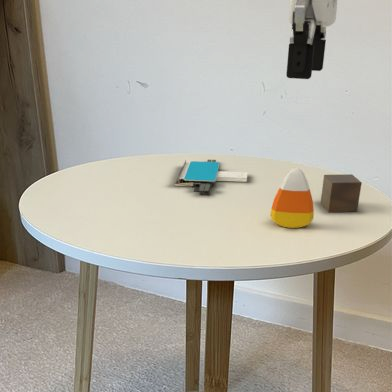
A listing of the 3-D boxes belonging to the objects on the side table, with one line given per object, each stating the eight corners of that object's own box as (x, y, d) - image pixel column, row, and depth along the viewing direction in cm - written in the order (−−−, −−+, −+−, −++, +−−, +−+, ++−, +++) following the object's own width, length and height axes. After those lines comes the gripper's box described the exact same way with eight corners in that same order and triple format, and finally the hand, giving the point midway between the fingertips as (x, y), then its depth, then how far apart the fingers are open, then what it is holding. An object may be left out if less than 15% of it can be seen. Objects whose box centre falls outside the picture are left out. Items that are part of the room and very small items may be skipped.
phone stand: (245, 196, 95) (246, 186, 94) (171, 193, 96) (171, 183, 95) (247, 164, 112) (248, 155, 111) (184, 162, 113) (184, 153, 112)
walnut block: (348, 202, 93) (352, 174, 91) (357, 211, 89) (361, 182, 87) (320, 203, 93) (323, 174, 90) (328, 212, 89) (332, 182, 86)
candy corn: (312, 222, 85) (319, 165, 81) (312, 230, 82) (319, 171, 78) (270, 220, 85) (274, 163, 81) (269, 227, 83) (273, 168, 79)
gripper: (342, -86, 66) (322, 83, 75) (358, -73, 80) (340, 68, 89) (274, -85, 68) (264, 80, 77) (302, -72, 82) (290, 66, 91)
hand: (305, 74), depth 83 cm, fingers open, 9 cm apart
